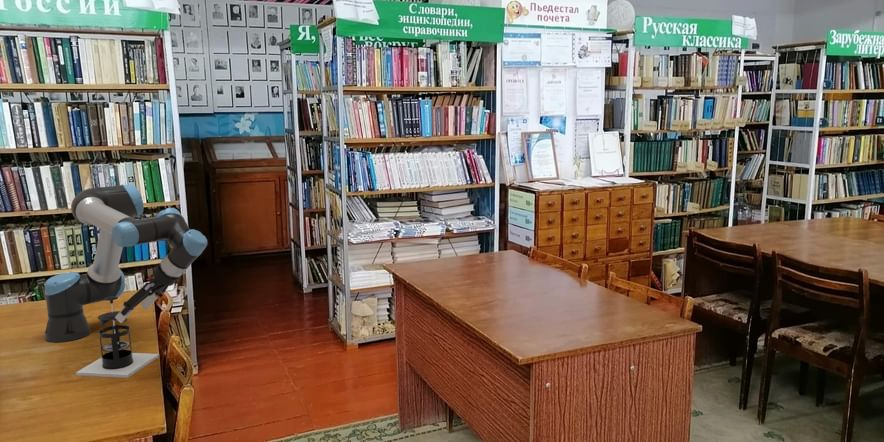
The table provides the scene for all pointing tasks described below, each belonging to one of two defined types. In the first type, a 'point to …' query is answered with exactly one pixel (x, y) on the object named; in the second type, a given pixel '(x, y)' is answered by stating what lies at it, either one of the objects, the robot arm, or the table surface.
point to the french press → (115, 341)
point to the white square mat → (138, 363)
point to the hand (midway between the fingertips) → (131, 313)
